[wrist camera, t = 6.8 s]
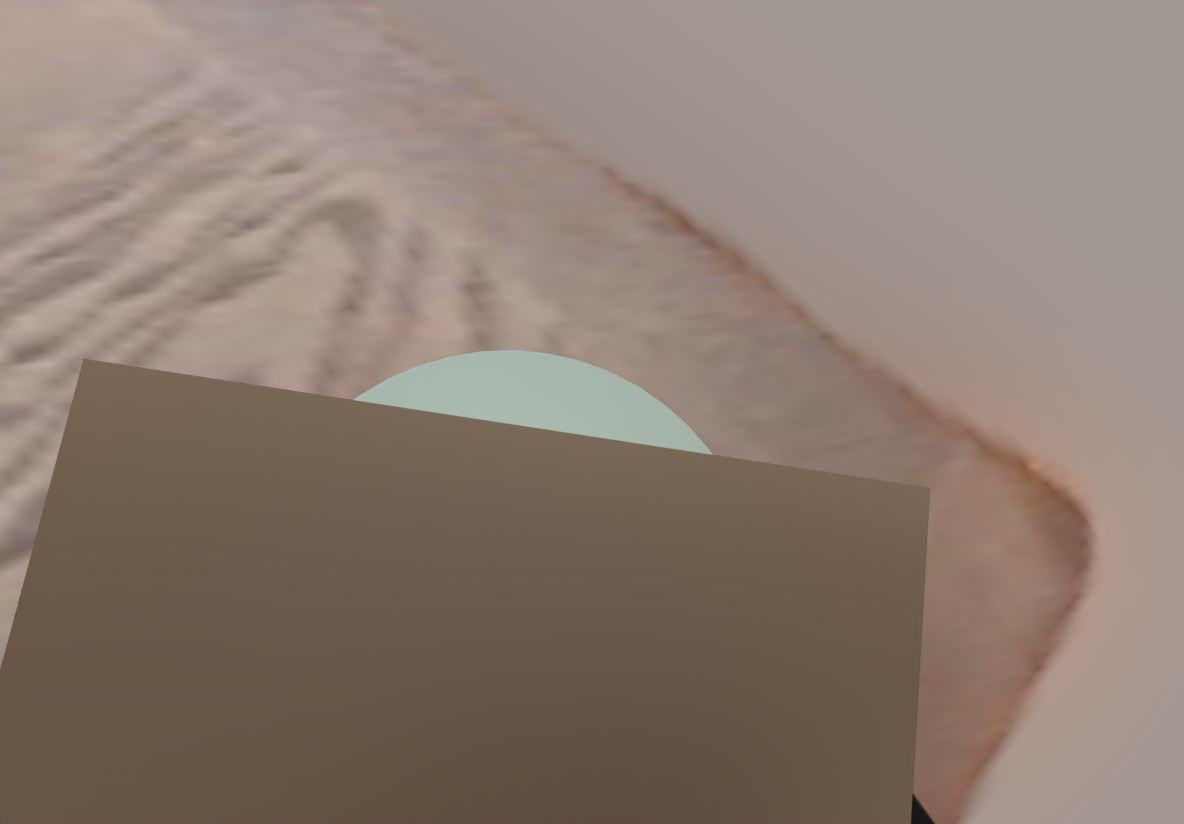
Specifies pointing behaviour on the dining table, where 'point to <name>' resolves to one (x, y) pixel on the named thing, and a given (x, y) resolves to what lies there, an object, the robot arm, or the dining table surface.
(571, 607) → the walnut block
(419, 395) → the dish
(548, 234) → the dining table surface
